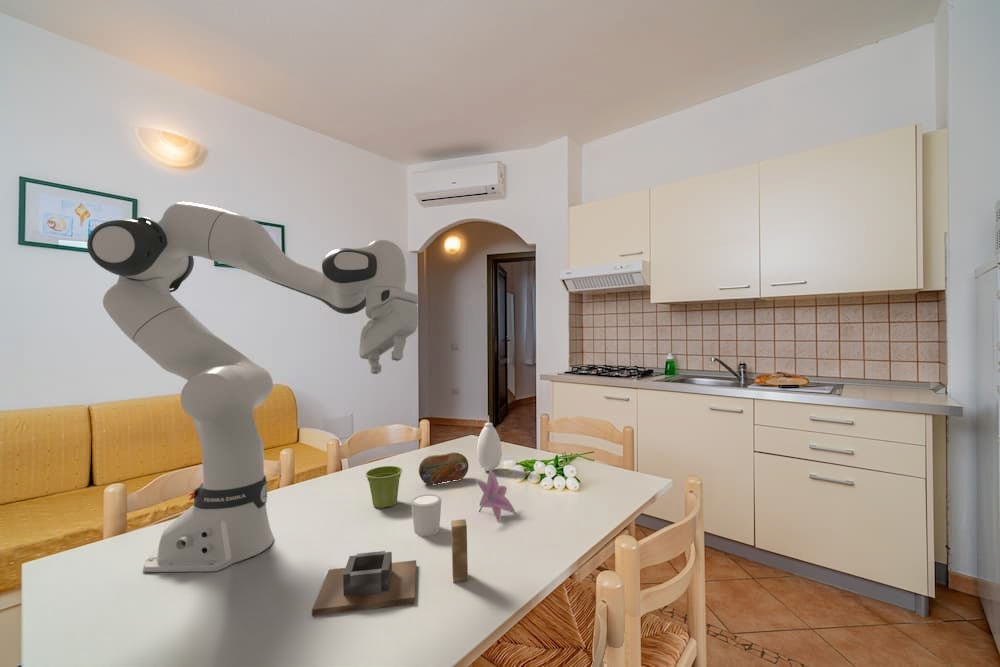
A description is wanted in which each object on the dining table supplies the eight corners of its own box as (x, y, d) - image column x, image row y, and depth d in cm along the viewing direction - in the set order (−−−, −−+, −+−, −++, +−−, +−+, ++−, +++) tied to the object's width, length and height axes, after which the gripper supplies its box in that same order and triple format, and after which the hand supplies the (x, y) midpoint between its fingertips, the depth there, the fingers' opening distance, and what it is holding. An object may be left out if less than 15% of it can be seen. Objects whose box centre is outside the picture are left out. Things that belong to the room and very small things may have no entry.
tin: (420, 487, 126) (419, 458, 126) (418, 484, 129) (417, 456, 129) (469, 479, 132) (468, 452, 133) (465, 476, 135) (465, 449, 135)
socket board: (312, 615, 69) (311, 587, 69) (328, 574, 81) (328, 550, 81) (414, 603, 72) (413, 576, 72) (416, 565, 83) (415, 542, 83)
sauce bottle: (506, 470, 140) (505, 414, 140) (489, 476, 135) (488, 418, 135) (489, 465, 146) (488, 412, 146) (472, 471, 140) (471, 415, 140)
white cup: (436, 538, 94) (435, 506, 94) (406, 536, 96) (405, 504, 96) (446, 524, 101) (445, 494, 101) (418, 522, 103) (417, 493, 103)
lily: (471, 532, 99) (490, 498, 98) (454, 497, 109) (470, 465, 107) (512, 534, 106) (530, 502, 104) (492, 500, 115) (508, 471, 114)
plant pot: (390, 513, 109) (389, 478, 109) (358, 509, 112) (358, 475, 112) (409, 499, 117) (409, 467, 117) (380, 495, 120) (379, 464, 120)
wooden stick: (453, 582, 77) (452, 526, 77) (452, 574, 80) (451, 520, 80) (467, 581, 78) (466, 525, 78) (466, 573, 80) (465, 519, 80)
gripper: (353, 321, 101) (351, 378, 96) (395, 284, 88) (395, 348, 82) (378, 327, 105) (377, 381, 100) (422, 292, 92) (424, 353, 86)
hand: (386, 366), depth 91 cm, fingers open, 8 cm apart
